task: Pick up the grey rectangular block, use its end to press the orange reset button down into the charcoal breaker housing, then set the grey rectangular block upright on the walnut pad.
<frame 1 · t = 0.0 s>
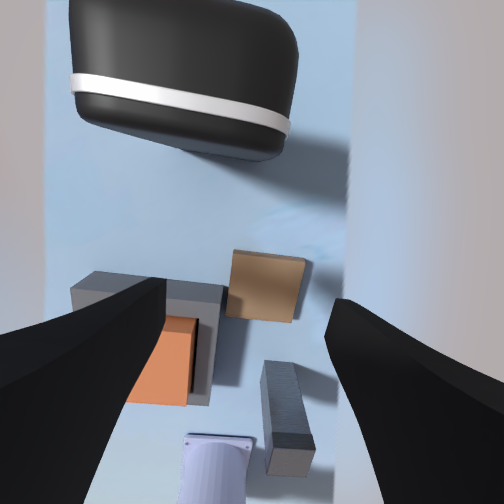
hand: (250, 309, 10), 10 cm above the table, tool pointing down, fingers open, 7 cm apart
walnut pad: (263, 284, 21), on the table
battery charger: (220, 127, 17), on the table
breaker housing: (159, 330, 22), on the table
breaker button: (146, 356, 19), point 3 cm above the table, slide at 0.0 cm
grey rectangular block: (276, 372, 24), on the table
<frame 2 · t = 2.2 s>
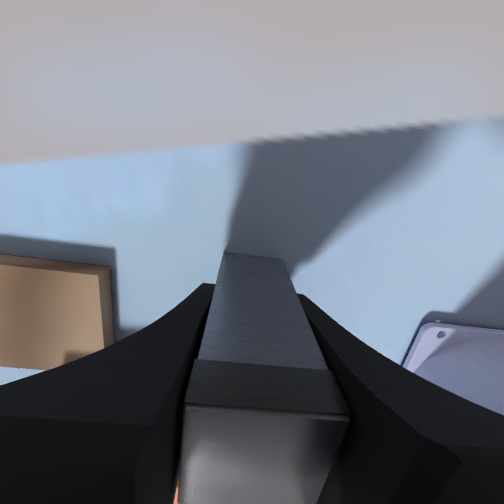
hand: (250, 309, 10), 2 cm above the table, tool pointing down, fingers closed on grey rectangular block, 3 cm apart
walnut pad: (54, 311, 12), on the table
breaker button: (146, 498, 13), point 3 cm above the table, slide at 0.0 cm
grey rectangular block: (249, 282, 12), on the table, touching gripper
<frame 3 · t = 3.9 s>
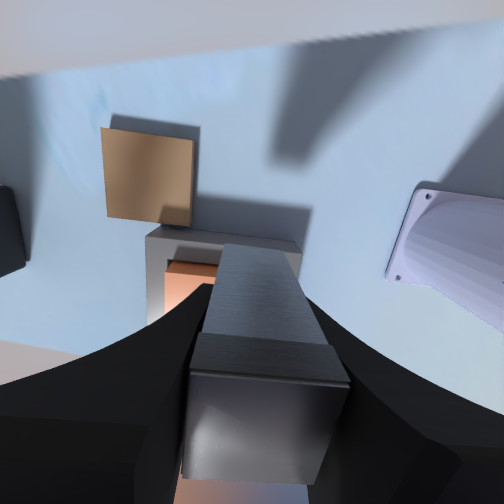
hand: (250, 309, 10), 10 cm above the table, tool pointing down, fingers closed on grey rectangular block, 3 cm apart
walnut pad: (153, 179, 18), on the table
battery charger: (0, 224, 19), on the table
breaker housing: (222, 292, 21), on the table
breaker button: (218, 314, 18), point 3 cm above the table, slide at 0.0 cm
grey rectangular block: (249, 273, 12), point 7 cm above the table, touching gripper
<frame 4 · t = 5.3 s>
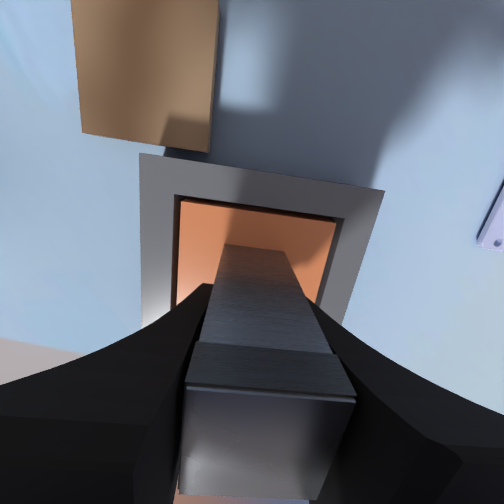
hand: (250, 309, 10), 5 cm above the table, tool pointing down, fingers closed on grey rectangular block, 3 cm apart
walnut pad: (153, 78, 11), on the table
breaker housing: (248, 261, 15), on the table
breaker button: (249, 272, 13), point 2 cm above the table, slide at 1.6 cm, touching grey rectangular block
grey rectangular block: (250, 274, 12), point 3 cm above the table, touching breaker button, gripper
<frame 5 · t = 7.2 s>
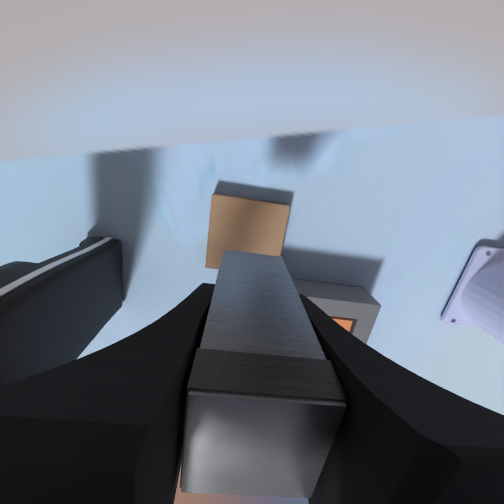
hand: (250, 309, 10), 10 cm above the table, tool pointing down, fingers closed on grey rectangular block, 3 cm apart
walnut pad: (246, 234, 20), on the table
battery charger: (102, 269, 21), on the table
breaker housing: (293, 330, 23), on the table
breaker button: (297, 342, 21), point 2 cm above the table, slide at 1.6 cm
grey rectangular block: (249, 279, 12), point 8 cm above the table, touching gripper
when the fingers open (4 cm above the table, at t = 8.7 s): grey rectangular block stays where it is, resting on walnut pad.
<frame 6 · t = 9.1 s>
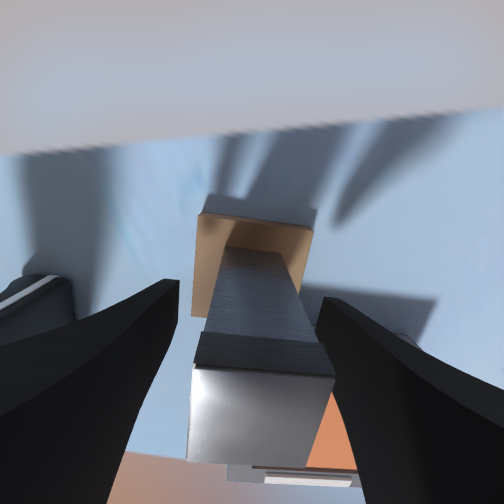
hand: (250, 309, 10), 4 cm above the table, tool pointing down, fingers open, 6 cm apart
walnut pad: (248, 268, 14), on the table
battery charger: (49, 316, 15), on the table
breaker housing: (311, 388, 17), on the table
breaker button: (318, 411, 16), point 2 cm above the table, slide at 1.6 cm
grey rectangular block: (249, 274, 13), point 1 cm above the table, touching walnut pad
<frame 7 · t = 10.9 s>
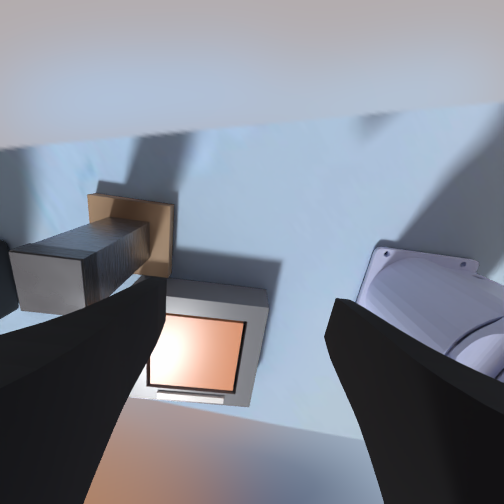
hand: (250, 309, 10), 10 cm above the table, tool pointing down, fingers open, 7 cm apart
walnut pad: (135, 235, 19), on the table
breaker housing: (200, 332, 23), on the table
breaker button: (197, 345, 21), point 2 cm above the table, slide at 1.6 cm
grey rectangular block: (130, 237, 18), point 1 cm above the table, touching walnut pad
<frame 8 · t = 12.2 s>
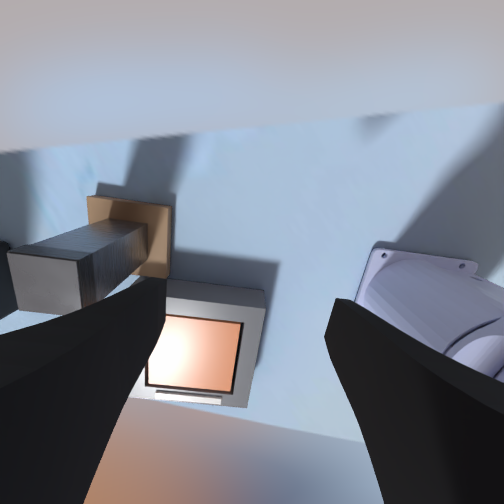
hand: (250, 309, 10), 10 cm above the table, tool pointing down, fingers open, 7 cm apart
walnut pad: (134, 236, 20), on the table
breaker housing: (199, 333, 23), on the table
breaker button: (195, 345, 21), point 2 cm above the table, slide at 1.6 cm
grey rectangular block: (128, 239, 19), point 1 cm above the table, touching walnut pad
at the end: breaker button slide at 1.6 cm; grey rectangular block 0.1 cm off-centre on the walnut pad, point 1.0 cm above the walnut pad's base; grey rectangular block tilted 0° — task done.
